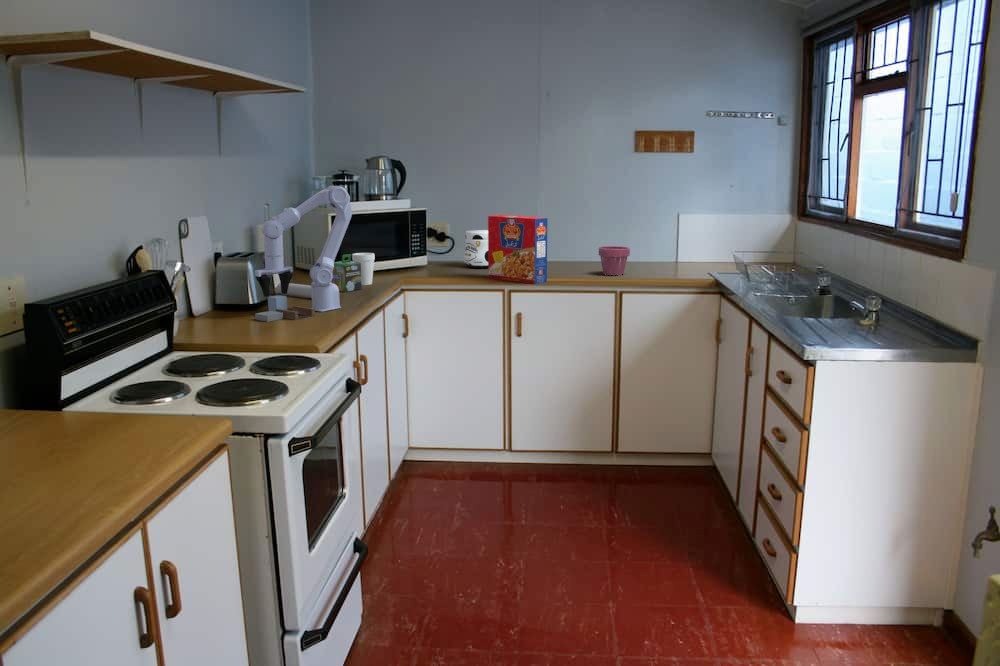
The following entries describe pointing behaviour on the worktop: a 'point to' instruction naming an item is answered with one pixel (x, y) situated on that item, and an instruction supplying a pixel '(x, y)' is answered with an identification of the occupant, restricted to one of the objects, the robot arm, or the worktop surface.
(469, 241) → the milk container
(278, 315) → the stand
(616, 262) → the plant pot
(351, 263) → the chalk box
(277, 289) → the tube
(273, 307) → the block
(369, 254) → the foam cup
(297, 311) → the channel
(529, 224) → the pasta box
